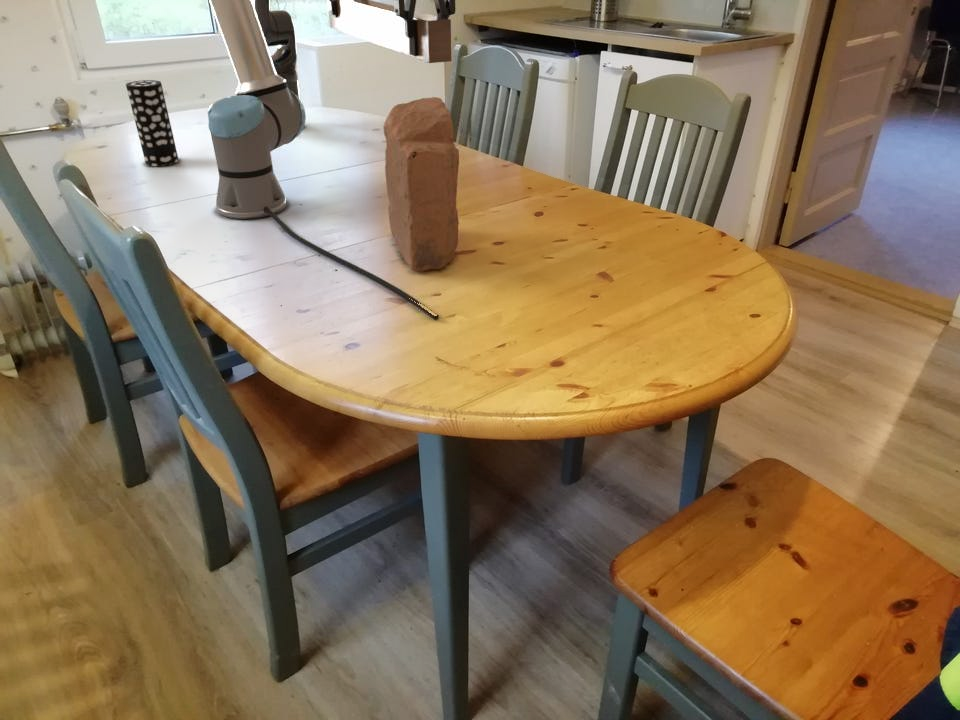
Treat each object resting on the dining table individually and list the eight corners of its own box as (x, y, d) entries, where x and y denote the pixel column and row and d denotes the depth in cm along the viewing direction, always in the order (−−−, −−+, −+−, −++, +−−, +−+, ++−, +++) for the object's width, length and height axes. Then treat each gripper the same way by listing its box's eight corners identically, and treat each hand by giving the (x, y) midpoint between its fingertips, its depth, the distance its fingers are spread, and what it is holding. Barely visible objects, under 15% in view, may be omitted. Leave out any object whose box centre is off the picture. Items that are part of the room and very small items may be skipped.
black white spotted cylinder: (184, 157, 190) (167, 80, 179) (169, 166, 183) (151, 87, 172) (155, 156, 190) (136, 79, 179) (139, 165, 183) (119, 86, 172)
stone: (470, 268, 131) (468, 114, 117) (412, 275, 128) (403, 119, 114) (440, 231, 149) (435, 93, 134) (388, 237, 146) (378, 97, 131)
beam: (451, 61, 139) (450, 19, 135) (429, 63, 137) (427, 20, 133) (348, 26, 186) (345, -6, 182) (330, 27, 184) (326, -6, 179)
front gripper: (456, -79, 137) (457, 48, 149) (370, -80, 129) (379, 54, 142) (473, -79, 131) (473, 53, 144) (385, -79, 124) (393, 60, 136)
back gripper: (361, -61, 175) (367, 13, 184) (306, -61, 169) (314, 16, 178) (372, -60, 169) (377, 17, 178) (315, -60, 163) (323, 20, 173)
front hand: (426, 53), depth 143 cm, fingers closed on beam, 5 cm apart
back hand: (346, 16), depth 178 cm, fingers closed on beam, 5 cm apart
